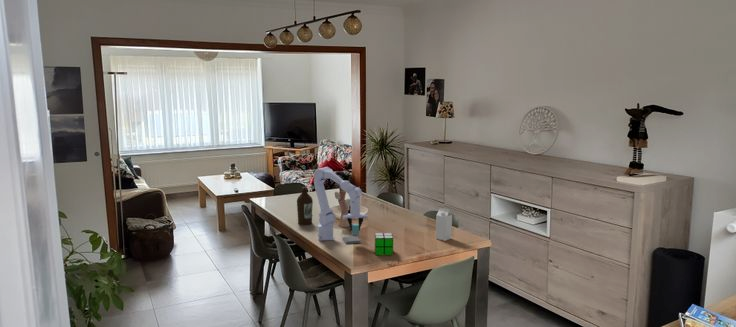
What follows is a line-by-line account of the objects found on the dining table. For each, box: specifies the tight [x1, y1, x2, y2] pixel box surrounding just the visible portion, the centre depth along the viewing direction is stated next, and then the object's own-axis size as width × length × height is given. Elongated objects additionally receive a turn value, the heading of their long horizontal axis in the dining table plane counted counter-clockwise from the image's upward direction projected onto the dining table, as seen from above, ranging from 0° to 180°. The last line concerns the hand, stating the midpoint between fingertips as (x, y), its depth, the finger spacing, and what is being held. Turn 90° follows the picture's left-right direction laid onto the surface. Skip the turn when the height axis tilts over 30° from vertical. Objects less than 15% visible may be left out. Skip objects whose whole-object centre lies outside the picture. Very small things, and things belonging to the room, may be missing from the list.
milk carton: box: [435, 207, 453, 242], centre depth 322 cm, size 7×7×19 cm
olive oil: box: [296, 186, 314, 226], centre depth 356 cm, size 11×11×25 cm
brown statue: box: [334, 183, 351, 228], centre depth 350 cm, size 11×7×30 cm
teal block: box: [351, 223, 360, 236], centre depth 311 cm, size 4×4×6 cm
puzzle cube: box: [374, 232, 394, 256], centre depth 297 cm, size 10×10×10 cm
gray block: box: [341, 235, 361, 245], centre depth 318 cm, size 9×9×2 cm
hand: (355, 230), depth 312 cm, fingers closed on teal block, 4 cm apart
